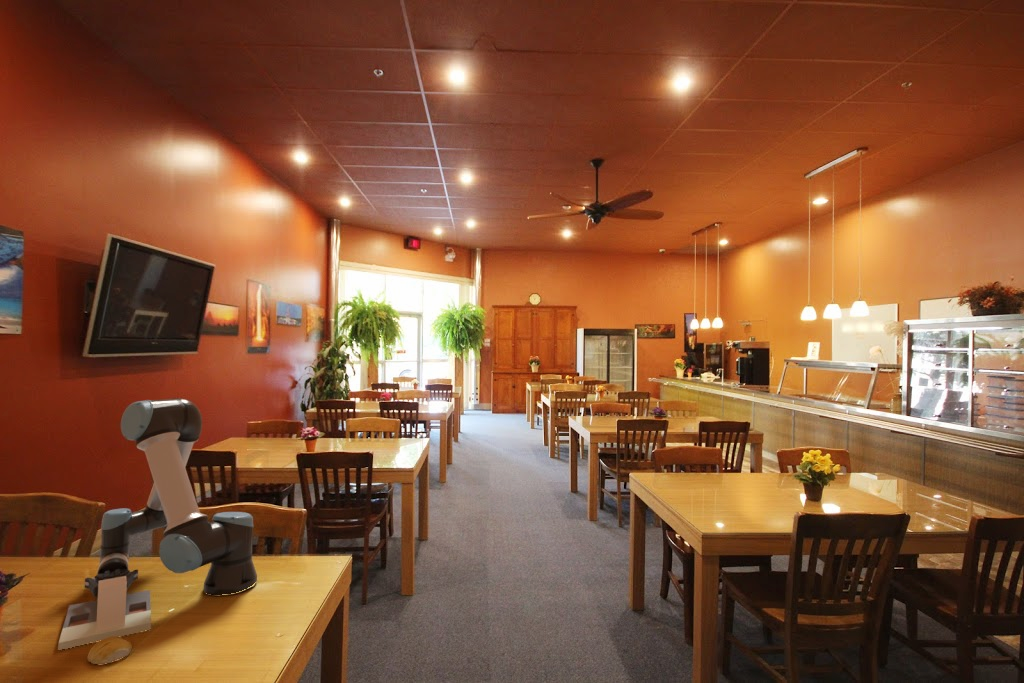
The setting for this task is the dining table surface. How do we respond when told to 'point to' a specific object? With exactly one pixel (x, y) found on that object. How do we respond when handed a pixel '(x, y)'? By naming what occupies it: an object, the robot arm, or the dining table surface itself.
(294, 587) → the dining table surface
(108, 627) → the cream block
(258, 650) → the dining table surface
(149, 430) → the robot arm
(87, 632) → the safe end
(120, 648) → the bread roll
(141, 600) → the board
